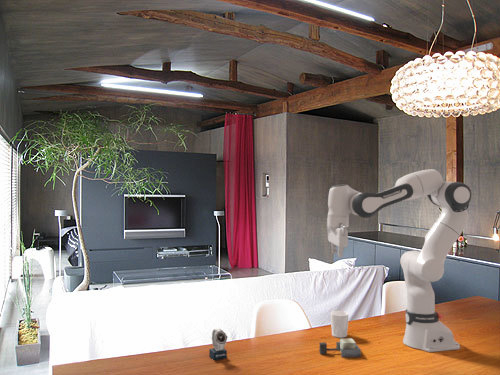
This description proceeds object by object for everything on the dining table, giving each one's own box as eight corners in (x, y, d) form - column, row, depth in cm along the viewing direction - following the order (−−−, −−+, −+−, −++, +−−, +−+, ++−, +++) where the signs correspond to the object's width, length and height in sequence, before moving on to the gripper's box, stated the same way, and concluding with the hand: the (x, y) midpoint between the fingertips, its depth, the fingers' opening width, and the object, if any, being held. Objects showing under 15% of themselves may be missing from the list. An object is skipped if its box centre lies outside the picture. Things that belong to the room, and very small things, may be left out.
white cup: (328, 336, 193) (329, 314, 193) (332, 331, 200) (332, 309, 200) (346, 339, 190) (346, 316, 190) (349, 333, 198) (349, 311, 198)
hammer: (352, 350, 177) (352, 338, 177) (355, 355, 172) (355, 342, 172) (318, 351, 176) (318, 338, 176) (321, 355, 171) (321, 343, 171)
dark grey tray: (354, 348, 179) (354, 341, 179) (360, 357, 170) (360, 349, 170) (336, 349, 178) (336, 341, 178) (341, 357, 170) (341, 349, 170)
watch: (215, 362, 164) (215, 333, 164) (207, 355, 171) (207, 327, 171) (229, 360, 167) (229, 331, 167) (220, 352, 174) (220, 325, 174)
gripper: (352, 224, 172) (351, 259, 172) (339, 220, 193) (338, 252, 193) (336, 224, 172) (335, 259, 172) (325, 220, 192) (324, 251, 192)
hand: (337, 255), depth 182 cm, fingers open, 8 cm apart
